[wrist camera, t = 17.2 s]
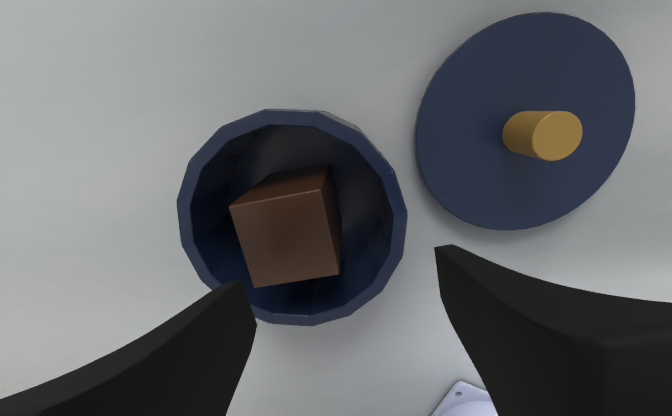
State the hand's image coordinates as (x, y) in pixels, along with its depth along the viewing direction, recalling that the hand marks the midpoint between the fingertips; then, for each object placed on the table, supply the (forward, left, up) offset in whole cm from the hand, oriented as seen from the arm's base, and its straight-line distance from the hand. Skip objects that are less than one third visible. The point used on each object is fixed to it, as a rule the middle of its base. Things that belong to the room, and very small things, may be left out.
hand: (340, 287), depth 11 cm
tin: (-1, +3, -10) cm, 11 cm away
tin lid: (+9, -7, -10) cm, 15 cm away
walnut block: (-1, +3, -10) cm, 10 cm away
